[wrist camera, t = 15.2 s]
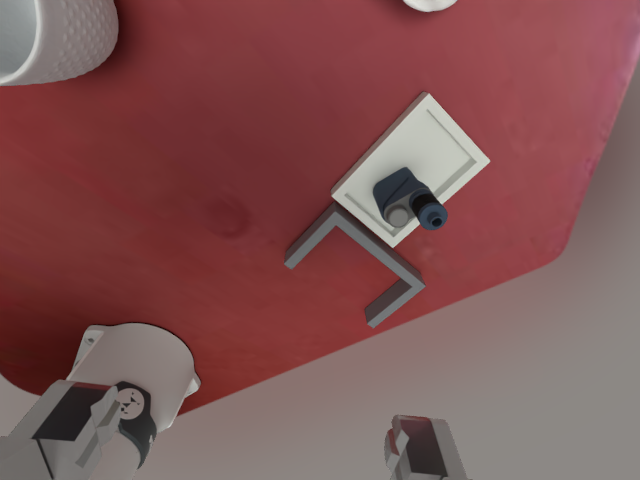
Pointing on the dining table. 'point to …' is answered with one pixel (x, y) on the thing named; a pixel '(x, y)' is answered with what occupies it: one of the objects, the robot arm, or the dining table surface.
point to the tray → (411, 164)
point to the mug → (54, 39)
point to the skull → (429, 4)
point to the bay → (338, 216)
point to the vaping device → (408, 201)
